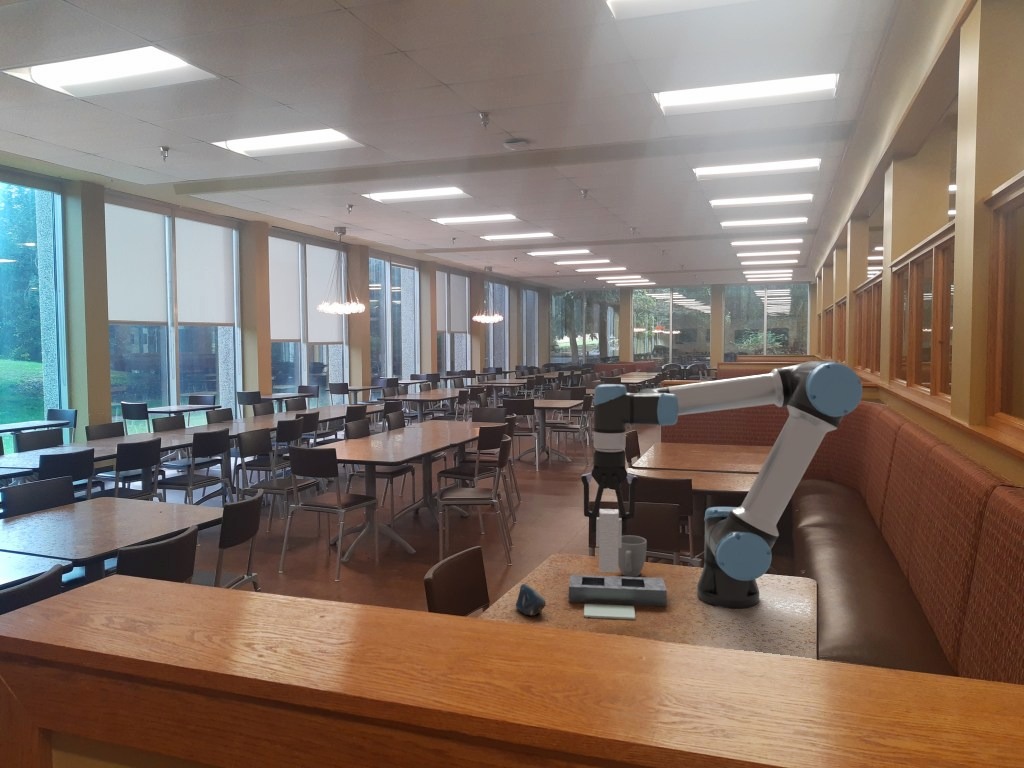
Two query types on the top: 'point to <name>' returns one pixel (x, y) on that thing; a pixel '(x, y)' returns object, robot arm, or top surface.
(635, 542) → the mug
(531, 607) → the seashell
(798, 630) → the top surface
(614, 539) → the steel peg
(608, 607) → the green pad
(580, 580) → the grey hollow block
